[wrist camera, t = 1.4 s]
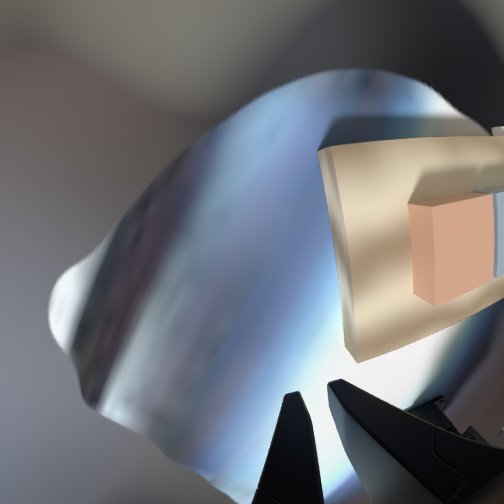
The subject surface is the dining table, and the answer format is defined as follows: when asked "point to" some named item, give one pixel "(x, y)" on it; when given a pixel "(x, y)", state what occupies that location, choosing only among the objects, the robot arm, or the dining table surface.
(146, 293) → the dining table surface
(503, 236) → the slate tile
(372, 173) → the birch plate
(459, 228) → the terracotta tile
